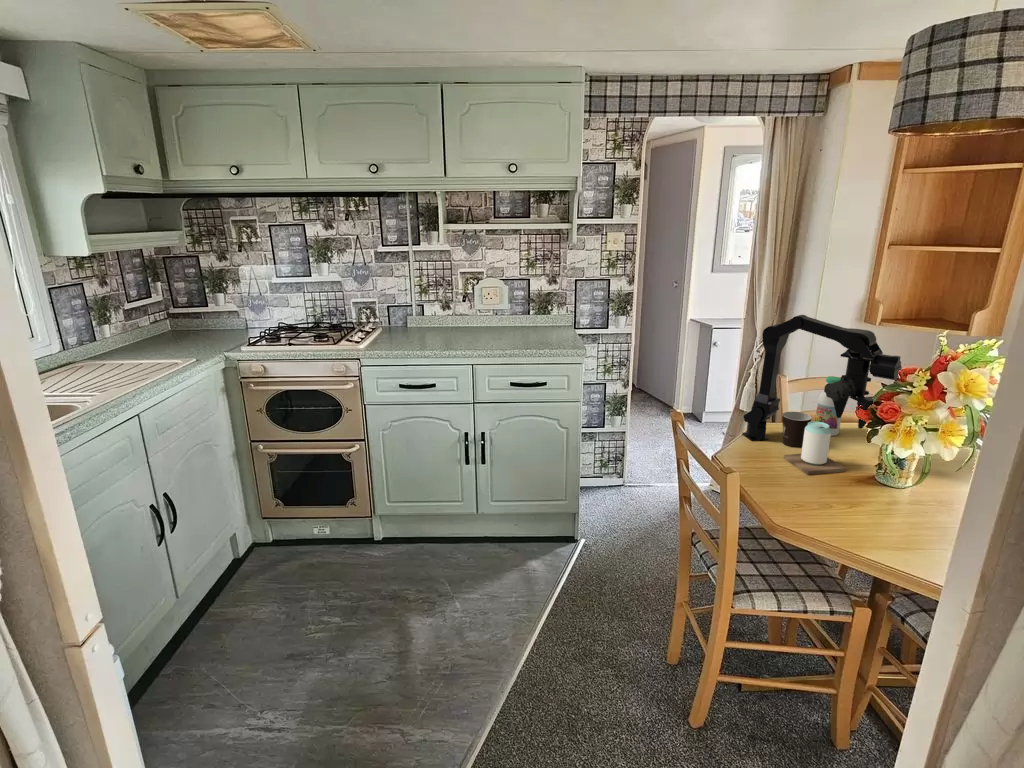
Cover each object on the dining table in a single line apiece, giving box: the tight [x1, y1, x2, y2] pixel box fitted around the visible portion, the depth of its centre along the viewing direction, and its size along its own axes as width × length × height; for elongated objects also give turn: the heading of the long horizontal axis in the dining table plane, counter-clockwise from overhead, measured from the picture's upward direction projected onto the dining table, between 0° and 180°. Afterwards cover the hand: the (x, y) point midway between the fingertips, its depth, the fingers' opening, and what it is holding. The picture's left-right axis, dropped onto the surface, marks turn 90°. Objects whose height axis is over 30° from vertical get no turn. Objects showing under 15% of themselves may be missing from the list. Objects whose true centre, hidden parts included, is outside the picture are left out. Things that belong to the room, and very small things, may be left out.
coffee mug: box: [782, 411, 812, 449], centre depth 191 cm, size 12×9×10 cm
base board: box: [783, 453, 846, 476], centre depth 175 cm, size 12×12×1 cm
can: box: [800, 420, 832, 465], centre depth 174 cm, size 7×7×12 cm
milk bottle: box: [814, 375, 842, 437], centre depth 197 cm, size 8×8×20 cm
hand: (849, 422), depth 173 cm, fingers open, 9 cm apart
